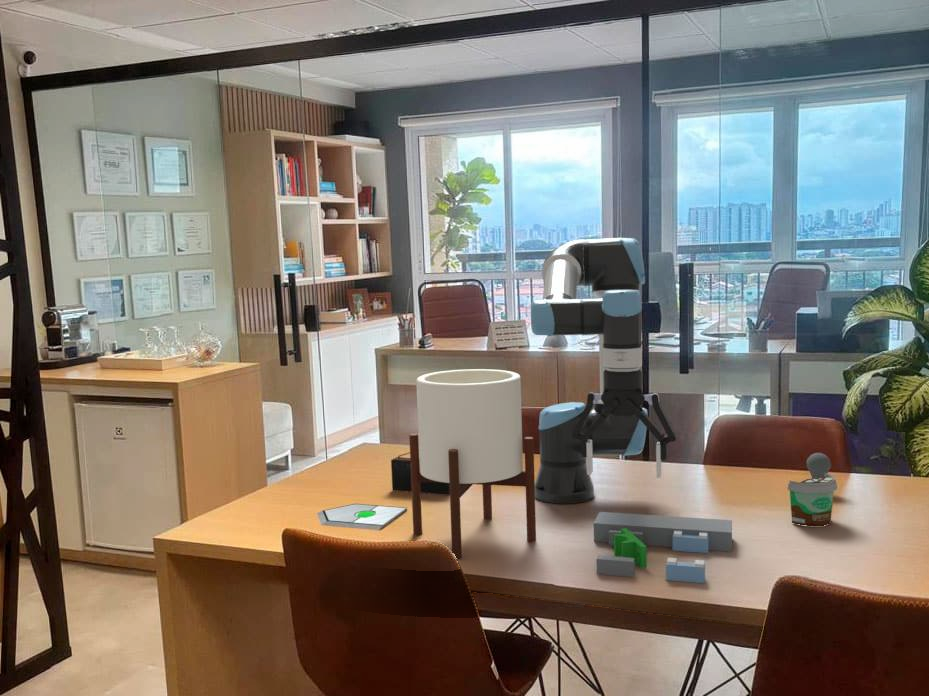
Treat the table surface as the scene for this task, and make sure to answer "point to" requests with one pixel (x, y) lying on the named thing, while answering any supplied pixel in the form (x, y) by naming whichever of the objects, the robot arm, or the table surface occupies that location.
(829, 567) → the table surface
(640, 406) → the robot arm
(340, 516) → the grey pentagonal plate
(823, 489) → the food container
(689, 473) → the table surface
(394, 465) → the radio
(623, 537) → the pipe clamp
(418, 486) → the plant pot with stand
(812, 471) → the light bulb
